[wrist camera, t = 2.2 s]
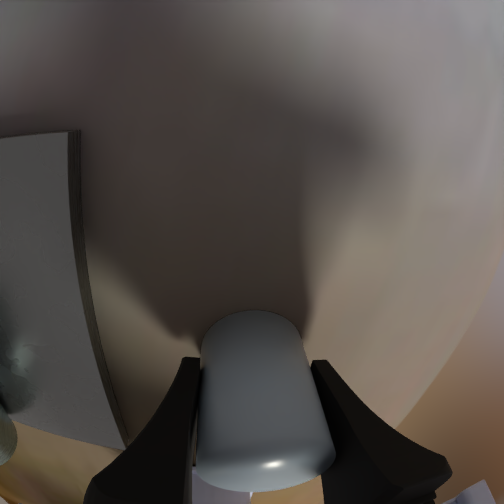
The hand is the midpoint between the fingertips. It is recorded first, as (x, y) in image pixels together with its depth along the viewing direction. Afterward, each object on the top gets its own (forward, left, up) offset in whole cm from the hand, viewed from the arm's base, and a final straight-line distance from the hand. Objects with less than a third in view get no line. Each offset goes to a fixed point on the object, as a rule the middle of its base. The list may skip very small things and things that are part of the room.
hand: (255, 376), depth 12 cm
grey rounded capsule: (0, 0, -2) cm, 2 cm away
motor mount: (0, +17, -2) cm, 17 cm away
